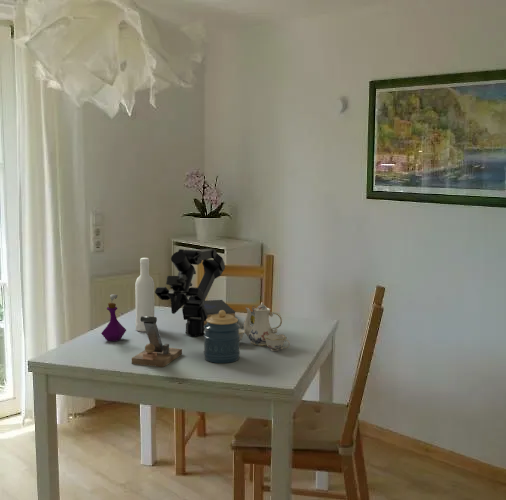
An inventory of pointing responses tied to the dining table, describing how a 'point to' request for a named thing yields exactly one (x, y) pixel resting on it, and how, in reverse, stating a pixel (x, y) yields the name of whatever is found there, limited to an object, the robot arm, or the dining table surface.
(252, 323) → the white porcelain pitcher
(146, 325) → the lever
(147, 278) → the bottle
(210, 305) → the book
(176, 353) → the board
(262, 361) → the dining table surface
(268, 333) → the chinaware
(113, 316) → the perfume bottle
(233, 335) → the canister
